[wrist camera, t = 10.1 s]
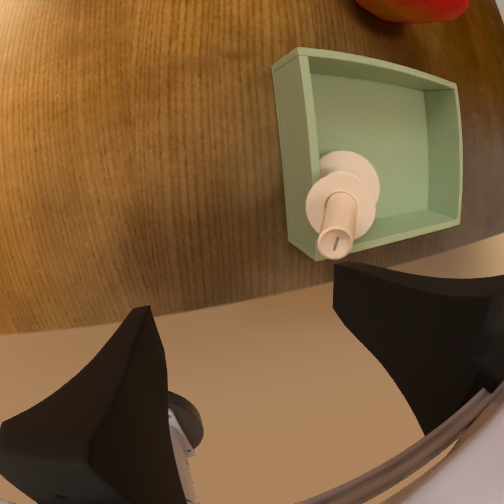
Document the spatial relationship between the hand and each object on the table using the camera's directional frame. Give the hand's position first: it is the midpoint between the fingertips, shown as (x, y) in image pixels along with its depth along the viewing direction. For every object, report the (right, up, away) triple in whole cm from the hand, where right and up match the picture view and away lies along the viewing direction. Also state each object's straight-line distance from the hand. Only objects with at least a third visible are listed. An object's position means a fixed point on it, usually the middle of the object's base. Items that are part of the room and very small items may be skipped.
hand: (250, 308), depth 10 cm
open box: (+10, +11, +11) cm, 18 cm away
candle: (+7, +7, +9) cm, 13 cm away
